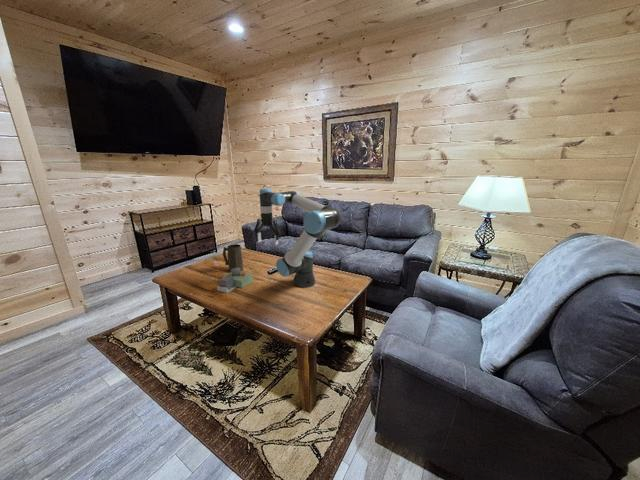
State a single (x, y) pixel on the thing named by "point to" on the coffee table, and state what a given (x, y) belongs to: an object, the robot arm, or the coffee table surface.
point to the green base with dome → (237, 279)
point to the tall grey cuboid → (227, 282)
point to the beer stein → (233, 256)
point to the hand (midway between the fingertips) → (267, 243)
